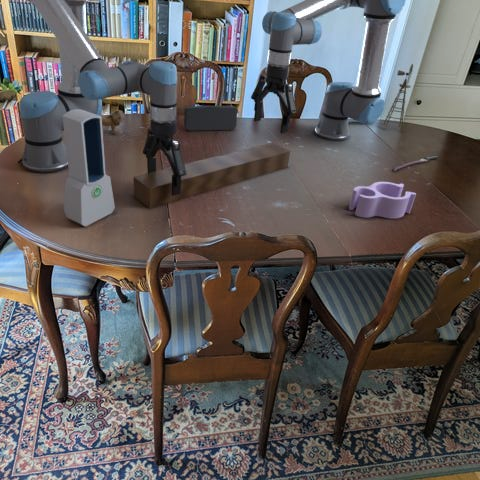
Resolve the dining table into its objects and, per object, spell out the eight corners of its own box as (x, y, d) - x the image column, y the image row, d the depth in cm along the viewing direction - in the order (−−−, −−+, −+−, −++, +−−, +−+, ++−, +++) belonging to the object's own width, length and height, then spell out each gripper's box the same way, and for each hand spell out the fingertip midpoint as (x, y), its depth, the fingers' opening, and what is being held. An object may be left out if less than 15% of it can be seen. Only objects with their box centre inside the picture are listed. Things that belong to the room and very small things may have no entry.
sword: (433, 155, 200) (434, 153, 199) (439, 158, 198) (440, 155, 197) (387, 170, 184) (387, 168, 183) (393, 173, 182) (394, 171, 181)
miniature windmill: (401, 131, 224) (420, 67, 208) (384, 129, 225) (401, 64, 209) (400, 126, 231) (418, 63, 215) (383, 123, 232) (399, 60, 216)
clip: (362, 221, 145) (367, 202, 142) (342, 202, 155) (347, 184, 151) (415, 216, 152) (421, 197, 148) (393, 198, 161) (398, 180, 158)
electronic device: (82, 228, 128) (71, 122, 112) (63, 219, 131) (50, 114, 115) (115, 211, 137) (109, 111, 121) (97, 203, 140) (89, 104, 124)
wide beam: (149, 208, 141) (149, 188, 137) (134, 196, 146) (133, 176, 143) (287, 167, 176) (290, 150, 172) (270, 158, 182) (273, 142, 178)
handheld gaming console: (234, 127, 207) (236, 105, 202) (236, 129, 205) (238, 107, 200) (183, 128, 200) (184, 105, 195) (185, 131, 198) (185, 107, 192)
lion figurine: (123, 129, 193) (122, 108, 188) (125, 134, 189) (124, 112, 184) (86, 130, 188) (84, 108, 183) (87, 135, 184) (85, 113, 179)
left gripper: (199, 130, 129) (197, 198, 140) (151, 105, 144) (152, 168, 156) (177, 135, 125) (176, 204, 136) (129, 108, 140) (132, 173, 151)
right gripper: (313, 72, 149) (302, 136, 160) (260, 55, 164) (254, 114, 175) (297, 74, 145) (287, 140, 156) (245, 56, 160) (239, 117, 171)
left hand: (163, 185), depth 146 cm, fingers open, 13 cm apart
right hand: (270, 126), depth 166 cm, fingers open, 13 cm apart
